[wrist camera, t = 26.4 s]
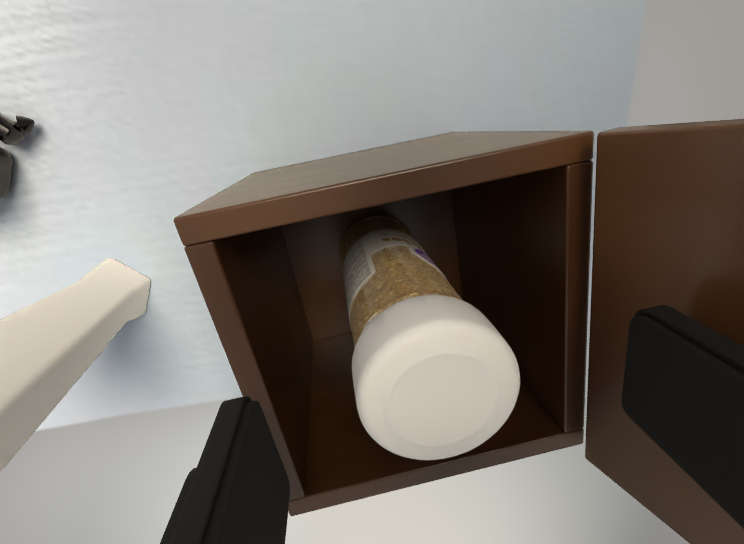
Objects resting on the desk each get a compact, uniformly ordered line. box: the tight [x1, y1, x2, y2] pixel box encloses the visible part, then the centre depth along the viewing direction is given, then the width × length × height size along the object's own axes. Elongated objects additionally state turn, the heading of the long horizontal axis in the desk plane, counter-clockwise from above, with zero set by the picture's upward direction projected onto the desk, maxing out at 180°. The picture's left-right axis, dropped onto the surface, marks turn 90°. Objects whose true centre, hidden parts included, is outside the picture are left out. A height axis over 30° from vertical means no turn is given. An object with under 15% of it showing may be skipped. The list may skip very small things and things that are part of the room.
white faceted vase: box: [0, 258, 151, 472], centre depth 15 cm, size 5×4×15 cm
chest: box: [174, 131, 594, 516], centre depth 17 cm, size 12×12×12 cm
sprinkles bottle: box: [340, 215, 520, 460], centre depth 16 cm, size 5×5×14 cm
